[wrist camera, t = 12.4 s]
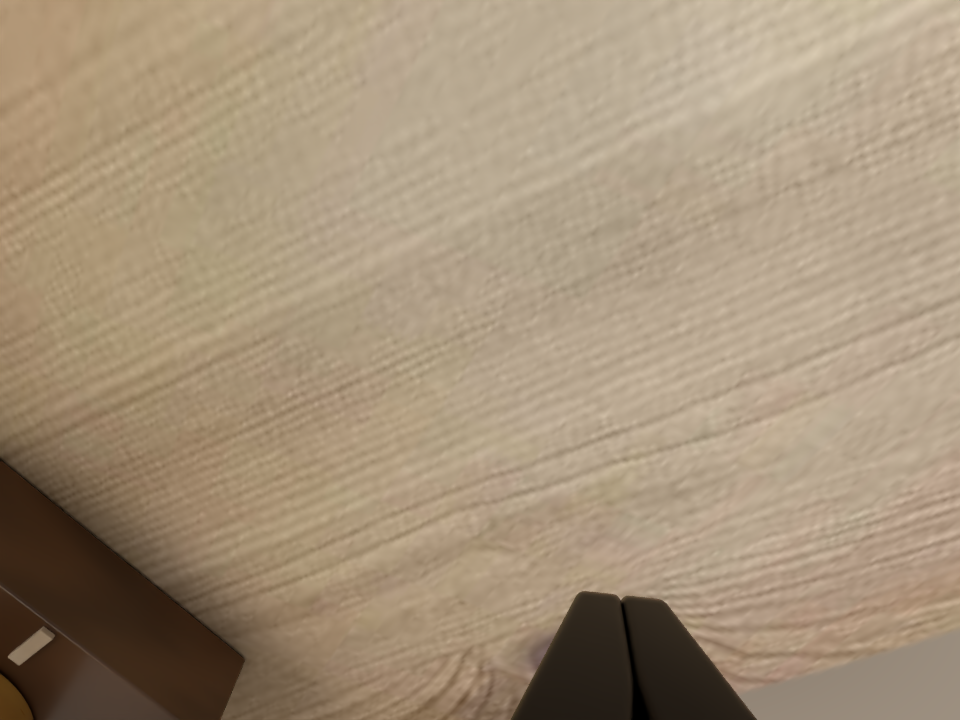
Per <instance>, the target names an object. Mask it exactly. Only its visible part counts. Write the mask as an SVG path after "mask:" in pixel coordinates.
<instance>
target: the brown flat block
mask: <svg viewBox="0 0 960 720" xmlns="http://www.w3.org/2000/svg"><path fill="white" fill-rule="evenodd" d="M244 662H245V660H244V658H243V657H241V656H240V655H239V654H238V653H236V652H235V651H234V650H233V649H232V648H230V647H229V646H228V645H227V644H225V643H224V642H223V641H222V640H221V639H219V638H218V637H217V636H216V635H214V634H213V633H212V632H211V631H209V630H208V629H207V628H206V627H205V626H203V625H202V624H201V623H200V622H198V621H197V620H196V619H195V618H194V617H192V616H191V615H190V614H189V613H187V612H186V611H185V610H184V609H182V608H181V607H180V606H179V605H178V604H176V603H175V602H174V601H173V600H171V599H170V598H169V597H168V596H167V595H165V594H164V593H163V592H162V591H160V590H159V589H158V588H157V587H155V586H154V585H153V584H152V583H151V582H149V581H148V580H147V579H146V578H144V577H143V576H142V575H141V574H140V573H138V572H137V571H136V570H135V569H133V568H132V567H131V566H130V565H128V564H127V563H126V562H125V561H124V560H122V559H121V558H120V557H119V556H117V555H116V554H115V553H114V552H113V551H111V550H110V549H109V548H108V547H106V546H105V545H104V544H103V543H101V542H100V541H99V540H98V539H97V538H95V537H94V536H93V535H92V534H90V533H89V532H88V531H87V530H86V529H84V528H83V527H82V526H81V525H79V524H78V523H77V522H76V521H74V520H73V519H72V518H71V517H70V516H68V515H67V514H66V513H65V512H63V511H62V510H61V509H60V508H59V507H57V506H56V505H55V504H54V503H52V502H51V501H50V500H49V499H47V498H46V497H45V496H44V495H43V494H41V493H40V492H39V491H38V490H36V489H35V488H34V487H33V486H32V485H30V484H29V483H28V482H27V481H25V480H24V479H23V478H22V477H21V476H19V475H18V474H17V473H16V472H14V471H13V470H12V469H11V468H9V467H8V466H7V465H6V464H5V463H3V462H2V461H1V460H0V674H1V675H3V676H4V677H5V678H6V679H8V680H9V681H10V682H11V683H12V684H13V685H14V686H15V687H16V688H17V690H18V691H19V692H20V693H21V695H22V696H23V697H24V699H25V701H26V702H27V704H28V706H29V708H30V710H31V713H32V716H33V719H34V720H221V717H222V715H223V712H224V710H225V707H226V705H227V703H228V700H229V698H230V695H231V693H232V691H233V688H234V686H235V683H236V681H237V679H238V676H239V674H240V671H241V669H242V666H243V664H244Z"/></svg>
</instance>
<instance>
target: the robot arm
mask: <svg viewBox="0 0 960 720" xmlns="http://www.w3.org/2000/svg"><path fill="white" fill-rule="evenodd" d="M511 720H757V719H756V718H755V717H754V715H753V714H752V713H751V712H750V710H749V709H748V708H747V706H746V705H745V704H744V702H743V701H742V700H741V699H740V697H739V696H738V695H737V693H736V692H735V691H734V690H733V688H732V687H731V686H730V684H729V683H728V682H727V681H726V679H725V678H724V677H723V675H722V674H721V673H720V672H719V670H718V669H717V668H716V666H715V665H714V664H713V663H712V661H711V660H710V659H709V657H708V656H707V655H706V654H705V652H704V651H703V650H702V649H701V647H700V646H699V645H698V643H697V642H696V641H695V640H694V638H693V637H692V636H691V634H690V633H689V632H688V631H687V629H686V628H685V627H684V625H683V624H682V623H681V622H680V620H679V619H678V618H677V616H676V615H675V614H674V613H673V611H672V610H671V609H670V607H669V606H668V605H667V604H666V603H665V602H664V601H662V600H660V599H654V598H645V597H635V596H625V597H624V598H623V599H622V600H620V599H619V597H618V596H616V595H614V594H607V593H598V592H589V591H582V592H580V593H578V594H577V596H576V597H575V599H574V601H573V603H572V605H571V607H570V609H569V610H568V612H567V614H566V616H565V618H564V620H563V622H562V624H561V626H560V627H559V629H558V631H557V633H556V635H555V637H554V639H553V641H552V643H551V644H550V646H549V648H548V650H547V652H546V654H545V656H544V658H543V660H542V661H541V663H540V665H539V667H538V669H537V671H536V673H535V675H534V677H533V678H532V680H531V682H530V684H529V686H528V688H527V690H526V692H525V694H524V695H523V697H522V699H521V701H520V703H519V705H518V707H517V709H516V711H515V712H514V714H513V716H512V718H511Z"/></svg>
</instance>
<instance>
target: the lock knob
mask: <svg viewBox="0 0 960 720" xmlns="http://www.w3.org/2000/svg"><path fill="white" fill-rule="evenodd" d="M0 720H34V719H33V716H32V713H31V710H30V708H29V706H28V704H27V702H26V701H25V699H24V697H23V696H22V695H21V693H20V692H19V691H18V690H17V688H16V687H15V686H14V685H13V684H12V683H11V682H10V681H9V680H8V679H6V678H5V677H4V676H3V675H1V674H0Z"/></svg>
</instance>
